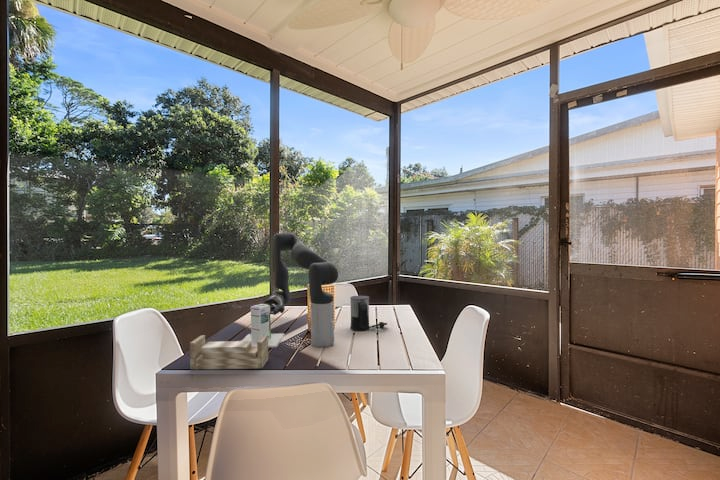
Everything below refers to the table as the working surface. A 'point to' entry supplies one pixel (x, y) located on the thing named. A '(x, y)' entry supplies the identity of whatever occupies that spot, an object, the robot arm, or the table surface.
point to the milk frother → (361, 313)
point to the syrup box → (260, 321)
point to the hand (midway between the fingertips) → (264, 312)
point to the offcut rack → (228, 354)
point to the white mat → (271, 342)
